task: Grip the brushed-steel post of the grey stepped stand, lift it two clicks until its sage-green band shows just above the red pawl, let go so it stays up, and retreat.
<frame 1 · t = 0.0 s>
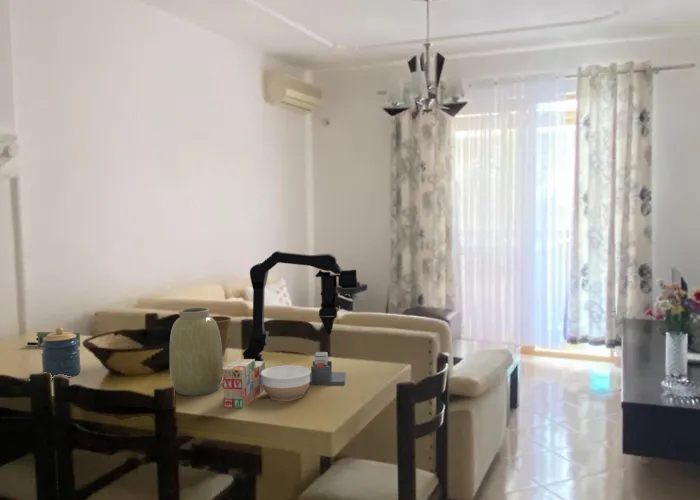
hand: (330, 331, 235), 15 cm above the table, fingers open, 9 cm apart
plant pot: (213, 358, 260), on the table
vase: (197, 390, 217), on the table
stack of blocks: (246, 398, 207), on the table
handheld radio: (53, 347, 288), on the table
canister: (62, 375, 239), on the table
bowl: (286, 396, 208), on the table
grey stepped stand: (321, 381, 223), on the table
column: (321, 365, 223), point 6 cm above the table, slide at 0.0 cm
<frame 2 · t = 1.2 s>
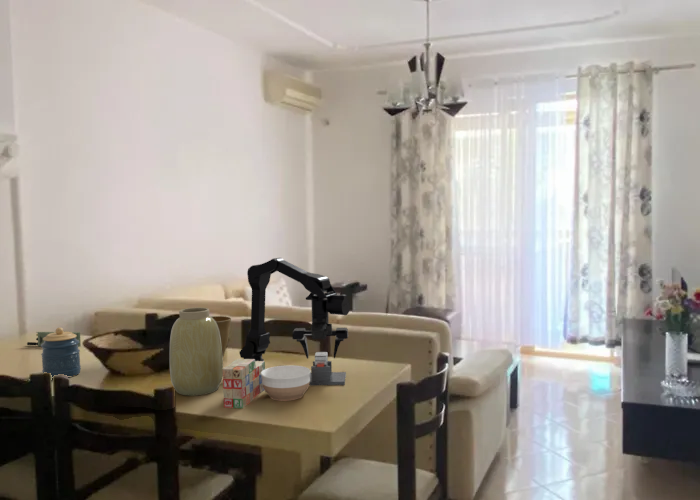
hand: (321, 358, 223), 8 cm above the table, fingers open, 9 cm apart
nothing on the table moved.
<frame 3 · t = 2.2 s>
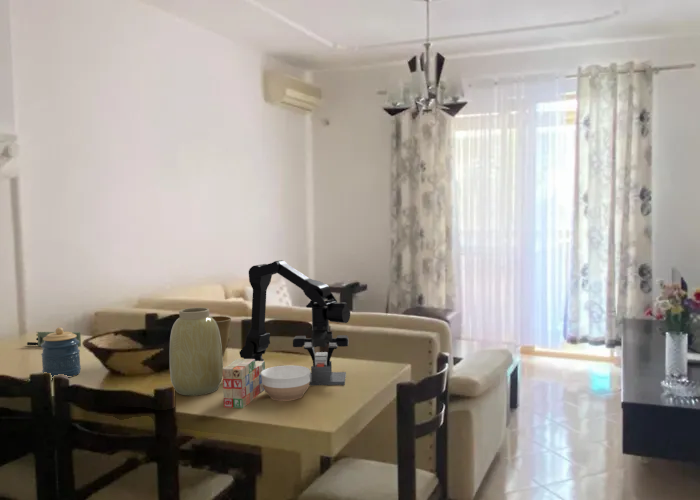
hand: (321, 365, 223), 6 cm above the table, fingers closed on column, 4 cm apart
column: (321, 365, 223), point 5 cm above the table, slide at 0.0 cm, touching gripper
everything else where it was.
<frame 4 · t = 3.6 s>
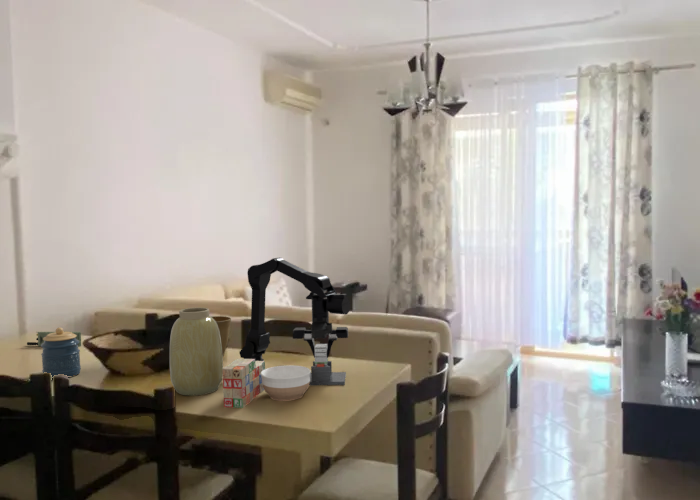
hand: (321, 357, 223), 8 cm above the table, fingers closed on column, 4 cm apart
column: (321, 357, 222), point 8 cm above the table, slide at 2.9 cm, touching gripper
everything else where it was.
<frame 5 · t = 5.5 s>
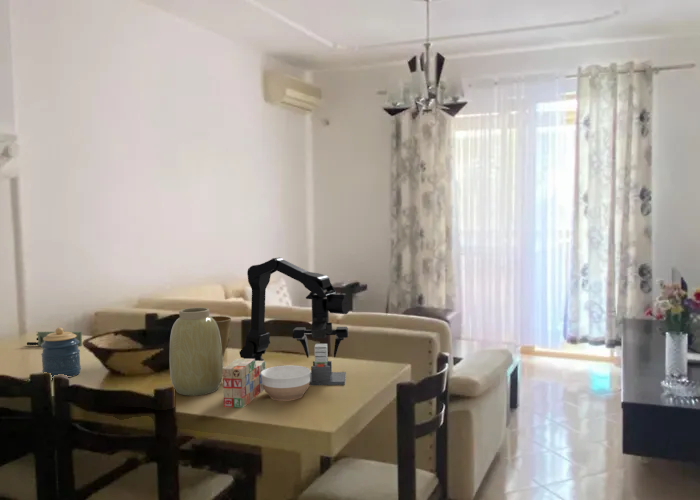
hand: (321, 357, 222), 8 cm above the table, fingers open, 9 cm apart
column: (321, 357, 222), point 8 cm above the table, slide at 2.9 cm
everything else where it was.
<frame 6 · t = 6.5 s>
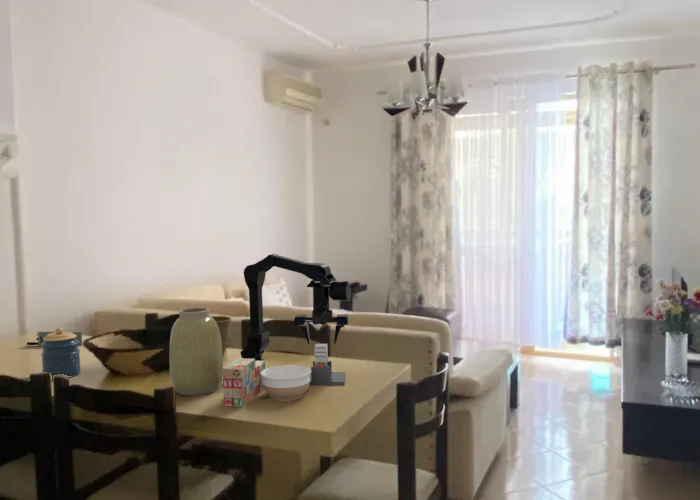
hand: (322, 343, 228), 12 cm above the table, fingers open, 9 cm apart
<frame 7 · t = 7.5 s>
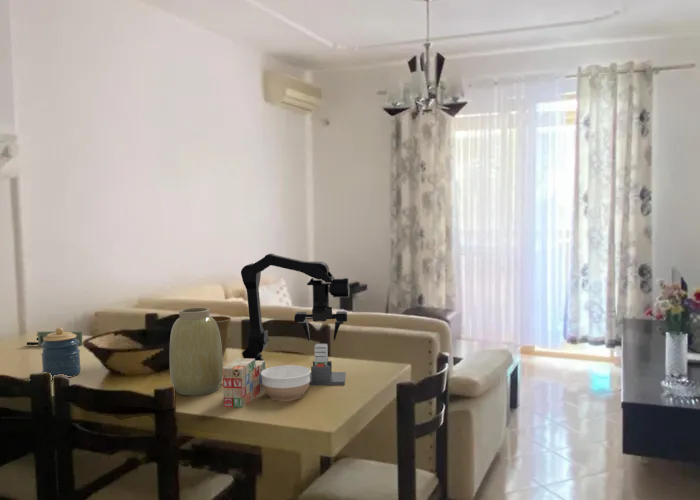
hand: (321, 340, 233), 12 cm above the table, fingers open, 9 cm apart
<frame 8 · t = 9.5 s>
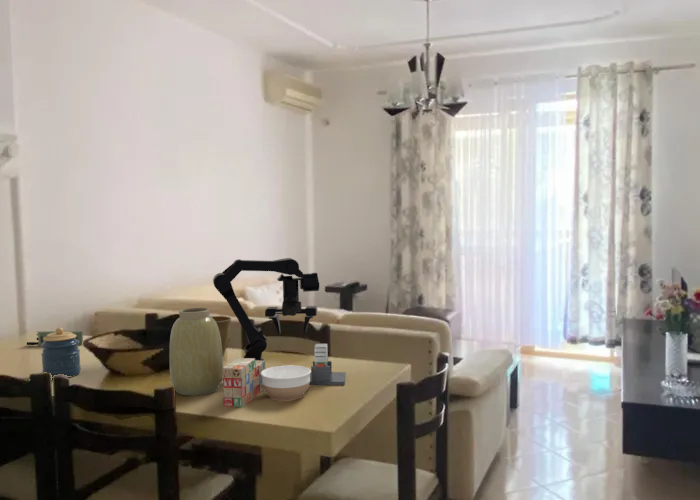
hand: (292, 334, 239), 13 cm above the table, fingers open, 9 cm apart
at the end: column slide at 2.9 cm; the gripper is holding nothing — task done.
